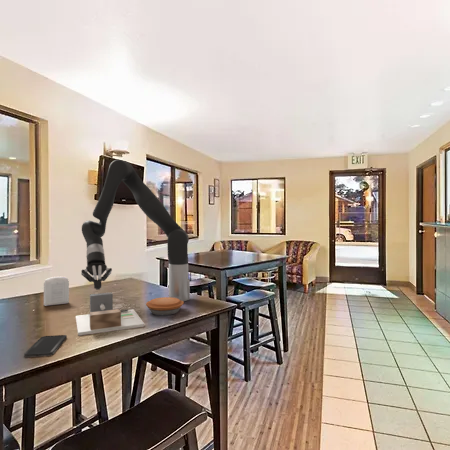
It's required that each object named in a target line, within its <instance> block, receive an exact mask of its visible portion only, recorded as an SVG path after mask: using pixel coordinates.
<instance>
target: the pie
mask: <svg viewBox="0 0 450 450" xmlns="http://www.w3.org/2000/svg"><path fill="white" fill-rule="evenodd" d="M184 304H185V301H181V300H179V299H177V298H172V297H169V296H167V297H156V298H153V299H150V300H149V301H147V302H146V303H145V306H146V308H148V310H149V312H150V313H151V314H153V315H154V316H155V315H156V316H169V315H174V314H178V312H179V311H180V310H181V308H182V306H183V305H184Z"/></svg>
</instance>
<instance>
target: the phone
mask: <svg viewBox="0 0 450 450" xmlns="http://www.w3.org/2000/svg"><path fill="white" fill-rule="evenodd" d="M67 337H68V336H67V335H66V334H59V335H58V334H57V335H43V336H41V337H40V338H39V339H38V340H37V341H35V343H33V345H31V346H30V347H29V348H28V349H27V350H26V351H25V352H24V353H23V356H24V357H25V358H32V357H33V358H34V357H35V358H36V357H38V358H39V357H51V356H53V355H55V353H57V350H58V349H59V348H61V346H62V344H64V342H65V341H66V339H67Z"/></svg>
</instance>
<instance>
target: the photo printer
mask: <svg viewBox="0 0 450 450" xmlns="http://www.w3.org/2000/svg"><path fill="white" fill-rule="evenodd" d="M69 297H70V280H69V278H68V277H66V276H51V277H48V278H45V279H44V282H43V306H46V307H47V306H55V305H63V304H69V302H70V301H69V300H70V298H69Z"/></svg>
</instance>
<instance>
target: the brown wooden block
mask: <svg viewBox="0 0 450 450" xmlns="http://www.w3.org/2000/svg"><path fill="white" fill-rule="evenodd" d="M120 310H121V309H120V308H118V309H117V308H116V309H113V310H107V311H98V312H90V311H89V314H90V330H95V329H102V328H110V327H117V326H121V311H120Z"/></svg>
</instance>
